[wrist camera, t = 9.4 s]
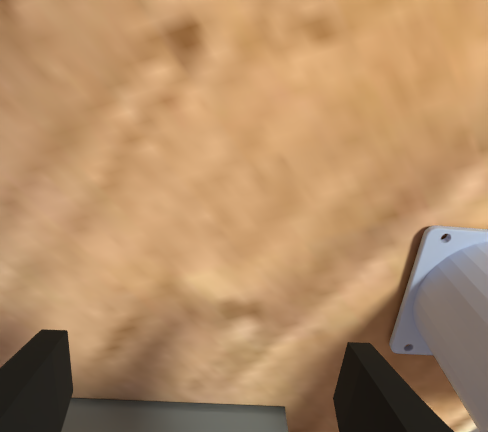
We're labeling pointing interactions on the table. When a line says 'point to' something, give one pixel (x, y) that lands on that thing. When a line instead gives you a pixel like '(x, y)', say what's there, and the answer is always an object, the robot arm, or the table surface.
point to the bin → (170, 417)
